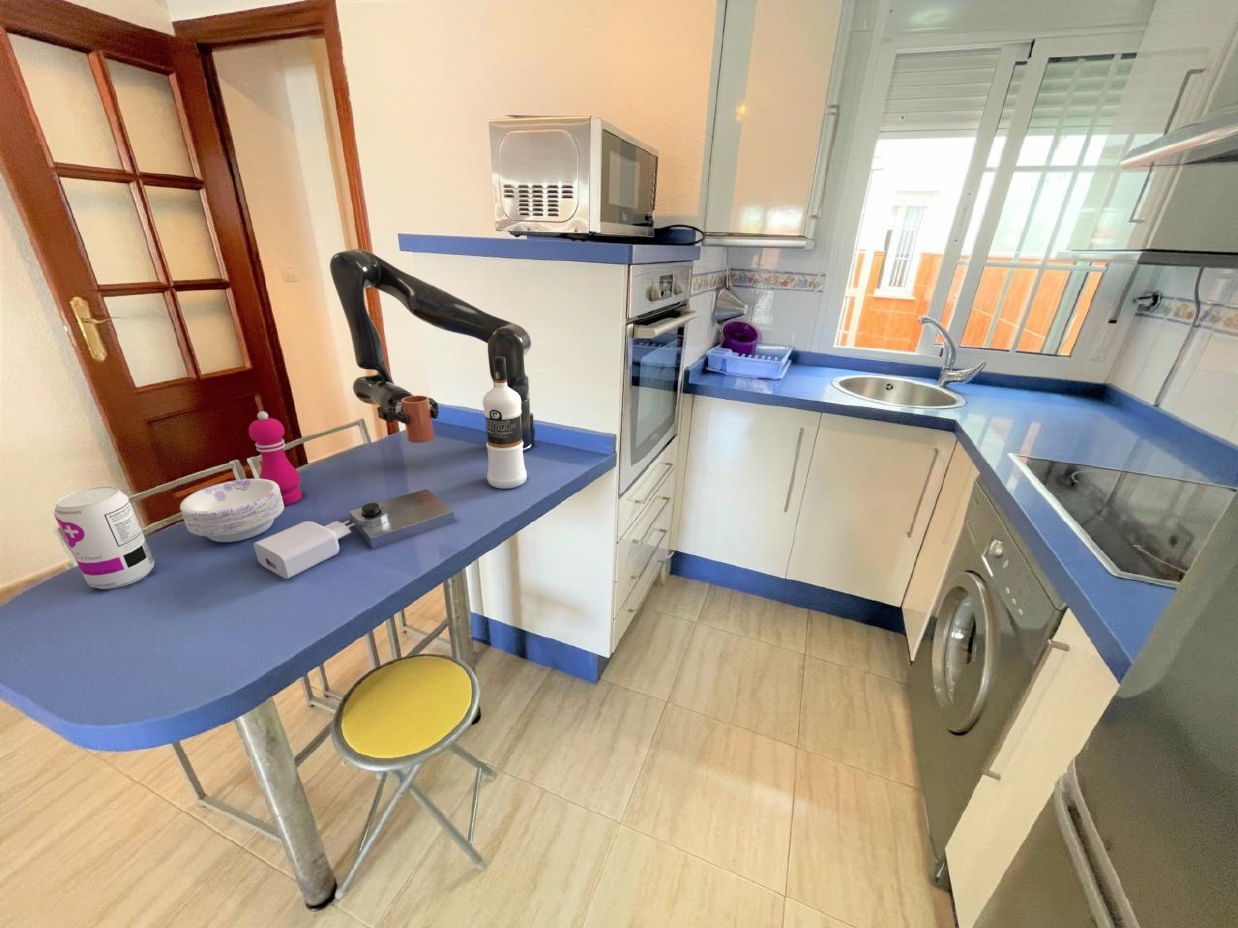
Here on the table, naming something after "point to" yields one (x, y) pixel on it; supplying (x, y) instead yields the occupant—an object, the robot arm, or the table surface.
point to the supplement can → (104, 536)
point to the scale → (402, 518)
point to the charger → (300, 547)
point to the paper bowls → (233, 509)
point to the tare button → (370, 510)
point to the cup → (418, 418)
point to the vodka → (504, 432)
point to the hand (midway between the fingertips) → (421, 417)
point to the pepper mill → (275, 457)
